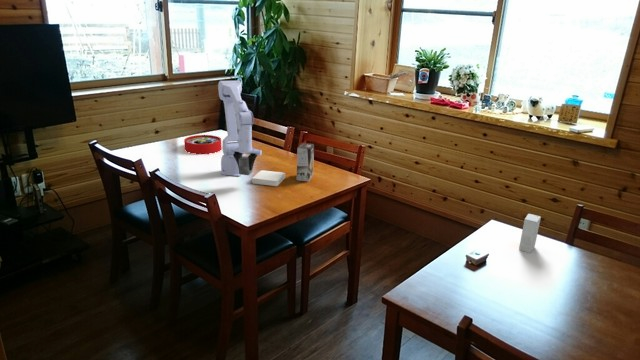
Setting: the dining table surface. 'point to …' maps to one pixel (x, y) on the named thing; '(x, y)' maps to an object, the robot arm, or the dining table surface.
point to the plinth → (268, 178)
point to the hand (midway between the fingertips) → (245, 169)
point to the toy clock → (202, 144)
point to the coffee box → (305, 162)
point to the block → (244, 166)
